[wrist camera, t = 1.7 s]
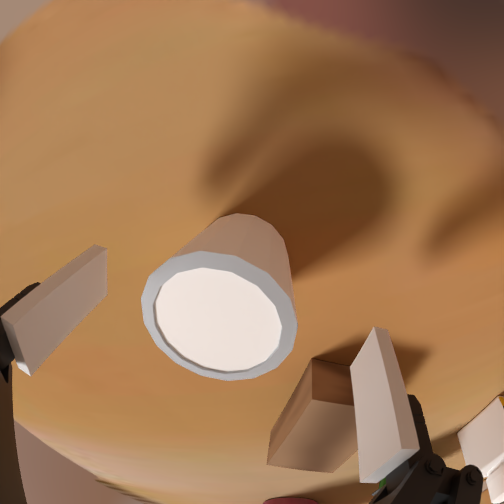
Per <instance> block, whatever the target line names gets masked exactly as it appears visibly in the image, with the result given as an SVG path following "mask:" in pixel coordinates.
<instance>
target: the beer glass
mask: <svg viewBox="0 0 504 504" xmlns="http://www.w3.org/2000/svg"><path fill="white" fill-rule="evenodd" d="M480 504H492V503H491V499H490V495H489V491H488V487H487V483H486V479H485V480H483V488H482V495H481V501H480Z"/></svg>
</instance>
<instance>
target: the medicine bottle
mask: <svg viewBox="0 0 504 504" xmlns="http://www.w3.org/2000/svg"><path fill="white" fill-rule="evenodd" d="M457 436H458V439H459V442H460V445H461V448H462V452H463V455H464V459H465V462H466V466H467V465H475V466H476V467H478V468H479V469H480V471H481V472H482V475H483V477H488V478H487V479H486V483H487V487H488V491H489V495H490V499H491V503H492V504H500V503H503V502H504V397H503V396H497V397H496V398H495V399H494V400H493V401H492V402H491V403H490V404H489V405H488V406H487V407H486V408H485V409H484V410H483V411H481V412H480V413H479V414H478V415H477V416H476V417H475V418H474V419H473V420H471V421H470V422H469V423H468V424H467V425H466V426H464V427H463V428H462V429H461V430H460V431H458V433H457Z"/></svg>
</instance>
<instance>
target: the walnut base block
mask: <svg viewBox="0 0 504 504" xmlns="http://www.w3.org/2000/svg"><path fill="white" fill-rule="evenodd" d="M357 450H358V441H357V428H356V417H355V407H354V397H353V388H352V379H351V371H350V366H346V365H341V364H336V363H331V362H326V361H321V360H317V359H312V358H311V360H310V362H309V364H308V366H307V368H306V370H305V372H304V374H303V376H302V378H301V379H300V381H299V383H298V385H297V387H296V389H295V390H294V392H293V394H292V396H291V398H290V399H289V401H288V403H287V405H286V407H285V408H284V410H283V412H282V413H281V415H280V417H279V419H278V420H277V422H276V424H275V425H274V427H273V429H272V430H271V435H270V443H269V450H268V458H267V465H272V466H278V467H284V468H291V469H298V470H307V471H316V472H327V473H333V472H334V471H335V470H336V469H337V468H339V467H340V466H341V465H342V464H343V463H344V462H345V461H346V460H348V459H349V458H350V457H351V456H352V455H353V454H354V453H355V452H356V451H357Z"/></svg>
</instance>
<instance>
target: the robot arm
mask: <svg viewBox="0 0 504 504" xmlns="http://www.w3.org/2000/svg"><path fill="white" fill-rule="evenodd" d="M107 295H108V294H107V248H104V247H101V246H98V245H93V246H92V247H90V248H89V249H88V250H86V251H85V252H83V253H82V254H80V255H79V256H78V257H76V258H75V259H73V260H72V261H71V262H69V263H68V264H66V265H65V266H64V267H62V268H61V269H60V270H58V271H57V272H56V273H54V274H53V275H52V276H50V277H49V278H48V279H46V280H45V281H44V282H42V283H39V282H37V283H34V284H32V285H29V286H27V287H26V288H25V289H23V290H22V291H21V292H20V294H19V293H18V294H17V295H16V296H15V297H14V298H12V299H11V300H9V301H8V302H7V303H6V304H5V305H3V306H2V307H1V308H0V504H27V502H26V497H25V493H24V489H23V484H22V479H21V474H20V469H19V463H18V456H17V449H16V441H15V431H14V419H13V401H12V365H11V362H12V361H13V360H14V358H15V360H16V362H17V365H18V367H19V368H20V369H21V370H22V371H24V372H25V373H27V374H28V375H30V376H32V375H33V374H34V372H35V371H36V370H37V369H38V368H39V367H40V366H41V364H42V363H43V362H44V361H45V360H46V359H47V358H48V357H49V355H50V354H51V353H52V352H53V351H54V350H55V349H56V348H57V347H58V346H59V344H60V343H61V342H62V341H63V340H64V339H65V338H66V337H67V336H68V335H69V334H70V333H71V332H72V331H73V329H74V328H75V327H76V326H77V325H78V324H79V323H80V322H81V321H82V320H83V319H84V318H85V317H86V316H87V315H88V314H89V313H90V312H91V311H92V310H93V309H94V308H95V307H96V306H97V305H98V304H99V303H100V302H101V301H102V300H103V299H104V298H105V297H106V296H107ZM350 371H351V379H352V388H353V397H354V407H355V417H356V428H357V441H358V456H359V475H360V483H378V482H379V481H380V480H382V479H383V478H385V477H386V484H385V485H384V486H383V487H381V488H380V489H378V490H377V491H375V492H374V493H373V494H371V495H373V496H374V495H375V494H376V495H375V497H374V498H373V499H372V500H371V501H370V503H369V504H480V501H481V495H482V488H483V475H482V472H481V471H480V469H479V468H478V467H476V466H475V465H467V466H465V467H464V468H462V469H461V470H460V471H459V470H456V469H452V468H449V467H446V465H445V463H444V461H443V459H442V458H441V457H440V456H438V455H436V454H434V453H433V451H432V447H431V443H430V439H429V435H428V431H427V427H426V424H425V419H424V416H423V412H422V408H421V404H420V403H419V401H418V400H417V398H416V397H415V396H414V395H409V394H407V393H406V389H405V385H404V382H403V378H402V375H401V371H400V368H399V364H398V361H397V358H396V355H395V351H394V348H393V345H392V342H391V339H390V336H389V333H388V330H387V329H382V328H378V327H373V329H372V331H371V332H370V334H369V336H368V338H367V339H366V341H365V343H364V345H363V346H362V348H361V350H360V351H359V353H358V355H357V356H356V358H355V360H354V361H353V363H352V365H351V366H350Z"/></svg>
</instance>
